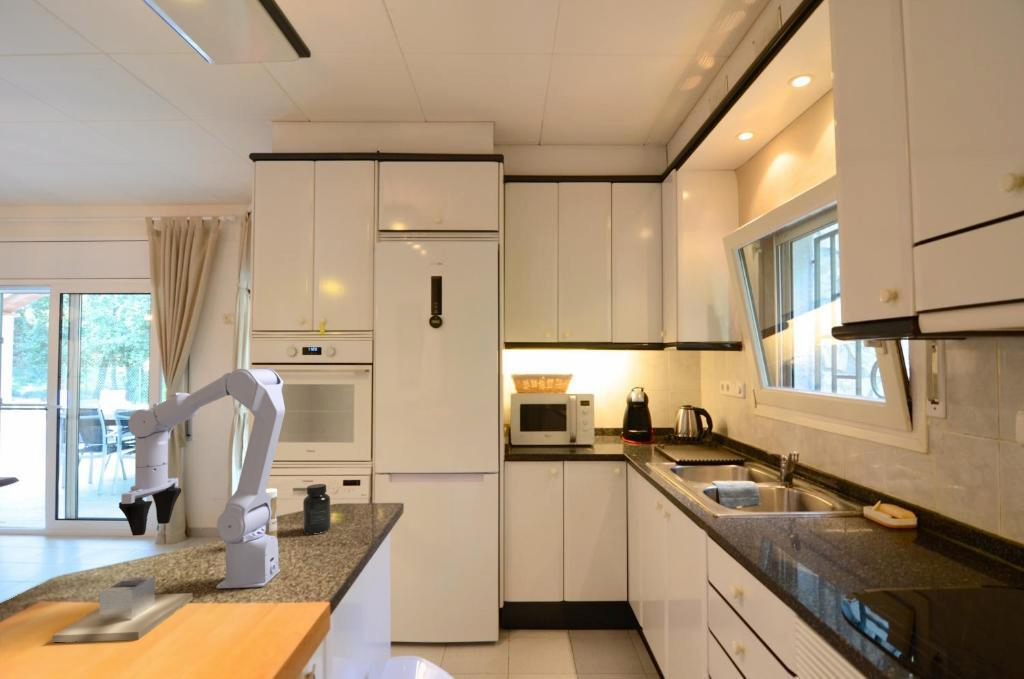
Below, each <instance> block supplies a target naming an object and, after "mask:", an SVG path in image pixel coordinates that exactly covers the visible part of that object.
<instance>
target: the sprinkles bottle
mask: <svg viewBox="0 0 1024 679" xmlns="http://www.w3.org/2000/svg"><path fill="white" fill-rule="evenodd" d="M266 492H267V493H268V494H269V495H270V496H271V497H272V498H271V502H270V507H271V512H272V515H271V519H270V521H269V523H268V524H267V525H266V531H265V534H266V535H270V536H275V537H276V538H277V540H278V511H277V510H278V508H277V497H278V489H277V488H273V487H271V488H266ZM278 541H279V540H278Z"/></svg>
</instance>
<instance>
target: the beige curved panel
mask: <svg viewBox="0 0 1024 679" xmlns="http://www.w3.org/2000/svg"><path fill="white" fill-rule="evenodd" d="M193 595H194V594H193V592H190V593H189V592H187V593H166V594H165V593H164V594H161V593H160V594H155V605H153V606H152V607H150V608H149V609H147V610H146V611H144V612H143V613H141V614H140V615H138V616H137V617H135V618H134V619H132V620H118V621H99V607H98V608H96V609H95V610H93V611H91V612H90V613H88V614H87V615H85V616H82V617H81V618H80V619H78V620H76V621H75V622H73V623H71V624H70V625H68V626H66V627H65V628H62V629H61V630H60V631H58V632H56V633H55V634H52V643H53V642H65V643H85V642H86V643H87V642H107V641H108V642H109V641H110V642H111V641H133V640H140V639H141V638H143V637H144V636H145V635H146V634H148V633H149V632H151V631H152V630H154V629H155V628H156V627H157V626H159V625H160V624H162V623H163V622H164V621H165V619H166V618H167V619H168V618H170V617H171V616H172V615H174V614H175V613H176V612H177V611H176V610H178V609H179V608H180V609H182V608H183V607H185V606H186V605H187V604H188V603H190V602H191V601H193ZM182 606H183V607H182ZM181 607H182V608H181ZM180 609H179V610H180ZM179 610H178V611H179ZM175 611H176V612H175ZM174 612H175V613H174ZM173 613H174V614H173ZM171 614H172V615H171ZM170 615H171V616H170ZM169 616H170V617H169ZM167 619H166V620H167ZM75 641H77V642H75Z"/></svg>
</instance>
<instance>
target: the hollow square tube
mask: <svg viewBox="0 0 1024 679" xmlns="http://www.w3.org/2000/svg"><path fill="white" fill-rule="evenodd" d="M98 593H99V595H98V596H99V598H98V599H99V600H98V602H99V606H98V608H99V621H118V620H132V619H134V618H135V617H137V616H138V615H140V614H141V613H143V612H144V611H146V610H147V609H149V608H150V607H152V606H153V605H155V595H156V594H155V593H156V577H155V576H139V577H138V576H136V577H123V578H121V579H120V580H117V581H116V582H114V583H113V584H111V585H109V586H107V587H105V588H104V589H101V590H99V592H98Z"/></svg>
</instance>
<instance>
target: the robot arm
mask: <svg viewBox="0 0 1024 679" xmlns="http://www.w3.org/2000/svg"><path fill="white" fill-rule="evenodd" d="M283 386H284V381H283V379H282V378H281V377H280V375H279V374H278V373H277V371H275V370H274V369H272V368H268V367H265V368H242V367H241V368H237V369H234V370H232V371H231V372H227V373H224V374H223V375H222V376H221V377H219V378H217V379H216V380H213V381H212V382H210V383H209V384H207V385H205V386H203V387H202V388H200V389H198V390H196V391H195V392H192V393H188V392H174V393H172V394H170V398H169V399H166V400H165V401H163V402H162V401H161V402H156V403H154V404H152V407H151V408H150V409H144V408H143V409H137V410H136V411H135V412H134V413H132V414H131V415H130V416H129V418H128V424H127V425H128V430H129V432H130V434H131V435H132V436H134V437H135V458H134V459H135V460H134V461H135V462H134V463H135V465H134V467H135V469H134V472H135V476H134V478H135V480H134V485H133V486H131V487H130V490H128V491H126V492H124V493H121V502H119V503H118V508H119V510H120V511H122V514H123V515H124V516H125V518H126V520H127V522H128V525H129V528H130V532H131V535H132V536H143V535H145V534H146V530H147V522H148V521H147V520H148V515H149V512H150V508H151V506H152V504H153V502H154V505H155V512H156V520H157V523H158V524H159V525H163V524H169V523H171V522H170V521H171V518H172V514H173V510H174V507H175V505H176V503H177V500H178V498H179V496H180V495H181V493H182V488H181V487H179V477H170V478H169V440H170V439H171V433H172V431H173V429H174V428H175V426H178V425H179V424H182V423H184V422H186V421H188V420H190V419H192V418H195V417H196V416H197V415H198V414H199V411H200V408H202V407H204V406H206V405H208V404H209V405H210V404H211V403H213V402H215V401H218V400H220V399H222V398H225V397H227V396H230V397H231V398H233V399H234V400H236V401H237V402H238V403H240V404H241V405H243V406H244V407H245V408H246V409H248V410H249V411H250V412H251V413H252V415H253V416H254V418H253V423H252V426H251V432H250V435H249V438H248V444H247V448H246V452H245V454H244V455H245V456H244V460H243V463H242V469H241V470H240V471H241V472H240V476H239V481H238V484H237V488H236V490H235V492H234V494H232V496H231V497H230V498H229V499H228V500H227V502H226V503H225V507H224V510H223V511H222V513H221V515H220V516H219V517H218V519H217V521H216V530H217V533H218V535H219V536H220V538H221V539H222V540H223V543H225V579H223V580H222V581H221V582H220V583H219V584H217V585H216V586H215V588H216V589H239V588H241V589H242V588H261V587H262V588H263V587H264V586H265V585H267V584H268V583H269V582H270V581H271V580H272V579H273V578H275V576H277V574H279V573H280V571H281V569H280V568H279V542H278V541H279V540H277V539H278V537H277V538H276V537H275V536H270V535H266V534H265V531H266V525H267V524H268V523H269V521H270V519H271V515H272V512H271V507H270V502H271V498H272V497H271V496H270V495H269V494H268V493H267V492H266V489H268V482H269V479H270V475H271V472H272V467H273V462H274V459H275V454H276V452H277V451H276V450H277V446H278V443H279V438H280V434H281V430H282V426H283V422H284V417H285V414H286V406H285V402H284V397H283ZM149 496H152V498H153V500H145V498H147V497H149Z"/></svg>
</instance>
